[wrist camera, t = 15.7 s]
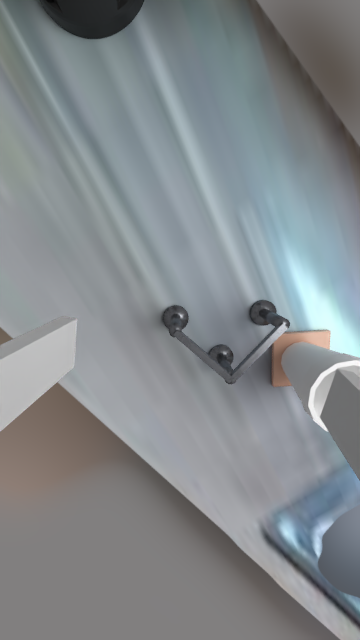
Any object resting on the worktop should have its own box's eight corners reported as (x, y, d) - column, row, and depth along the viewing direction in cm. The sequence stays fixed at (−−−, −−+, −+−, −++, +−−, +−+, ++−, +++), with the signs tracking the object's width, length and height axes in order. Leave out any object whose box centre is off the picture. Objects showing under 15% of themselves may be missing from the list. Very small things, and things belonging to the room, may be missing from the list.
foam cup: (327, 327, 44) (388, 354, 31) (331, 381, 46) (390, 426, 33) (268, 338, 44) (304, 368, 31) (274, 391, 46) (311, 440, 33)
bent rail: (162, 306, 44) (158, 318, 35) (275, 299, 44) (301, 309, 34) (167, 370, 46) (164, 398, 37) (274, 364, 46) (299, 390, 37)
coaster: (271, 333, 45) (273, 334, 44) (327, 329, 45) (330, 331, 44) (271, 384, 47) (273, 386, 46) (324, 381, 47) (327, 383, 46)
